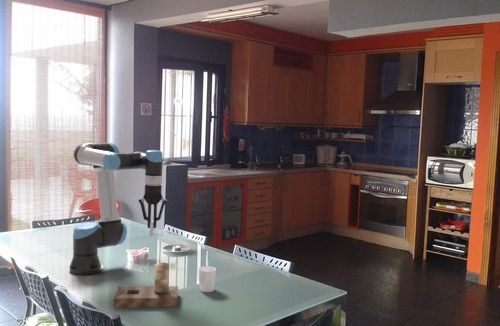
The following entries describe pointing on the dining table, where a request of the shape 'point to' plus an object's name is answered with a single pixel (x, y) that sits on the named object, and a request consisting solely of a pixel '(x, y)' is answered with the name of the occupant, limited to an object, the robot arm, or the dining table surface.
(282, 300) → the dining table surface
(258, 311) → the dining table surface
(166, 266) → the beech peg
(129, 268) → the dining table surface
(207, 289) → the white cup
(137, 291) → the walnut board
